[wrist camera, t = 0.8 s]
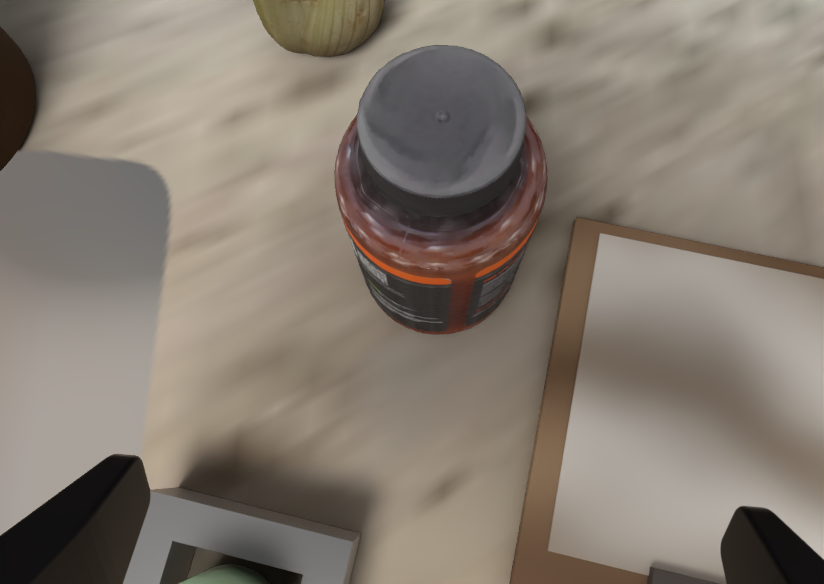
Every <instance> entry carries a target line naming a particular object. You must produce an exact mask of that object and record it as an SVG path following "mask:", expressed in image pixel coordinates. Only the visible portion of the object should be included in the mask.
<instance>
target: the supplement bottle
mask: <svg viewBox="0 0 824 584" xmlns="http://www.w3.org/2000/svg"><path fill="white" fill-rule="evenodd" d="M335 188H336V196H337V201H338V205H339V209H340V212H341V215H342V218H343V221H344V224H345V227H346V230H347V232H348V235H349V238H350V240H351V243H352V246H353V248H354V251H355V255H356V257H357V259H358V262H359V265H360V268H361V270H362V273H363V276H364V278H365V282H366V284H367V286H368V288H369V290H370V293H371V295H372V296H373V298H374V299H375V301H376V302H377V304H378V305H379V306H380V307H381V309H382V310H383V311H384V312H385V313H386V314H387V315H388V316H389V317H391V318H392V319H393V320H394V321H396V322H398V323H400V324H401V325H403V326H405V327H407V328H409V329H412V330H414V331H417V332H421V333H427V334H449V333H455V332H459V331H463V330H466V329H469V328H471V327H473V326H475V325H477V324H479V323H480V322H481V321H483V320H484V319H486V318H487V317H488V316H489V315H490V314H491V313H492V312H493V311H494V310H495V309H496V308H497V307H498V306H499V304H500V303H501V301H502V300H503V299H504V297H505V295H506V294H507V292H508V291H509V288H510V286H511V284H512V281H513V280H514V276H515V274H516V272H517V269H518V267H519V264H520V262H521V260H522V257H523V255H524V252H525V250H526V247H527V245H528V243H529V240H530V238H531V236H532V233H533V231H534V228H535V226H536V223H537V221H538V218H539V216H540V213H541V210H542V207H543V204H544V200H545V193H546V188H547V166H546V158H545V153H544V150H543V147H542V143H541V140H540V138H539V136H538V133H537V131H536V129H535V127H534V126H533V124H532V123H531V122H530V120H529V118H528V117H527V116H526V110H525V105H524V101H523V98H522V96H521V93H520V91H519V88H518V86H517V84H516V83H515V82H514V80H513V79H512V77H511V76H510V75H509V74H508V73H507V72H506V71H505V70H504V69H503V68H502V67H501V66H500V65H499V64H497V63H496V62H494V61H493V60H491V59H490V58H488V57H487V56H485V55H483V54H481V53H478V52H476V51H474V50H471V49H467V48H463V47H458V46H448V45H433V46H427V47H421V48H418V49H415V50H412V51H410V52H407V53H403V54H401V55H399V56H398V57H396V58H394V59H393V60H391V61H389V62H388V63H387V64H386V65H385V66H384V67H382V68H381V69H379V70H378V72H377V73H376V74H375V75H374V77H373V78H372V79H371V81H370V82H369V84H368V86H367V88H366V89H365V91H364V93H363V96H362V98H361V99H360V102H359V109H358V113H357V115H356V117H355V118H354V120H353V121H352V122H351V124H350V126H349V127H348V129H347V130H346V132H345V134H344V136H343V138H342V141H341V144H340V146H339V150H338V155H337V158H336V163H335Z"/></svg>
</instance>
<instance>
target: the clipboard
mask: <svg viewBox="0 0 824 584" xmlns="http://www.w3.org/2000/svg"><path fill="white" fill-rule="evenodd" d="M740 506H752V507H763V508H767V509H769V510H771V511H772V512H774V513H775V514H776V515H777V516H778V517H779V518H780V519H781V520H782V521H783V522H784V523H785V524H787V525H788V526H789V527H790V528H791V529H792V530H793V531H794V532H795V533H796V534H797V535H798V536H799V537H800V538H801V539H803V540H804V541H805V542H806V543H807V544H808V545H809V546H810V547H811V548H812V549H813V550H814V551H815V552H816V553H817V554H819V555H820V556H821V557H822V558H823V559H824V268H823V267H818V266H813V265H808V264H803V263H798V262H793V261H788V260H783V259H778V258H774V257H769V256H764V255H759V254H754V253H749V252H744V251H739V250H734V249H729V248H724V247H720V246H715V245H710V244H705V243H700V242H695V241H690V240H685V239H680V238H675V237H670V236H666V235H661V234H656V233H651V232H646V231H641V230H636V229H631V228H626V227H621V226H617V225H612V224H607V223H602V222H597V221H592V220H587V219H582V218H577V217H576V219H575V221H574V223H573V229H572V234H571V240H570V246H569V251H568V257H567V262H566V268H565V274H564V279H563V285H562V291H561V296H560V302H559V307H558V313H557V319H556V324H555V330H554V336H553V341H552V347H551V353H550V358H549V364H548V369H547V375H546V381H545V386H544V392H543V398H542V403H541V409H540V414H539V420H538V426H537V431H536V437H535V443H534V448H533V454H532V460H531V465H530V471H529V476H528V482H527V488H526V493H525V499H524V505H523V510H522V516H521V521H520V527H519V533H518V538H517V544H516V550H515V555H514V561H513V566H512V572H511V578H510V583H509V584H726V579H725V574H724V569H723V564H722V560H721V553H720V546H721V541H722V538H723V536H724V533H725V531H726V529H727V527H728V525H729V523H730V520H731V518H732V516H733V514H734V512H735V510H736V509H737V508H738V507H740Z"/></svg>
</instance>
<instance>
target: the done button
mask: <svg viewBox="0 0 824 584" xmlns="http://www.w3.org/2000/svg"><path fill="white" fill-rule="evenodd" d="M179 584H269V583H268V582H267V580H266V579H264V578H263V577H262V576H261V575H260V574H259V573H257V572H256V571H254V570H252V569H250V568H248V567H245V566H241V565H235V564H226V565H220V566H215V567H213V568H210V569H208V570H206V571H204V572H201V573H199V574H197V575H195V576H193V577H191V578H189V579H187V580H185V581H183V582H181V583H179Z"/></svg>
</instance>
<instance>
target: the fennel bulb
mask: <svg viewBox="0 0 824 584" xmlns="http://www.w3.org/2000/svg"><path fill="white" fill-rule="evenodd" d="M253 2H254V5H255V7H256V10H257V13H258V15H259V17H260V19H261V21H262V24H263V26H264V27H265V29H266V30H267V32H268V33H269V34H270V35H271V37H272V38H274V40H275V41H276V42H277V43H278V44H279V45H280V46H282V47H283V48H285V49H286V50H288V51H291V52H296V53H307V54H310V55H313V56H324V57H330V56H336V55H342V54H346V53H348V52H350V51H351V50H352V49H354V48H356V47H357V46H359V45H361V44H362V43H363V42H364V41H365V40H367V39H368V38H369V37H370V36H371V35H372V33H373V32H374V31H375V29H376V28H377V26H378V24H379V22H380V18H381V15H382V13H383V9H384V2H385V0H253Z"/></svg>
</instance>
